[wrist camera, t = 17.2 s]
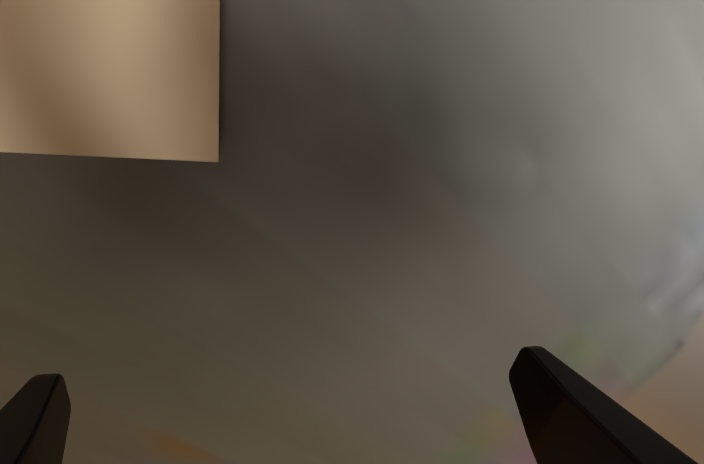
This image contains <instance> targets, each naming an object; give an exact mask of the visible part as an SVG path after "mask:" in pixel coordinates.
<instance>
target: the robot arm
mask: <svg viewBox="0 0 704 464" xmlns="http://www.w3.org/2000/svg"><path fill="white" fill-rule="evenodd" d="M509 380H510V384H511V387H512V391H513V394H514V397H515V400H516V403H517V406H518V410H519V413H520V416H521V419H522V422H523V425H524V428H525V432H526V435H527V438H528V441H529V444H530V446H531V449H532V452H533V454H534V457H535V459H536V461H537V464H698V463H697V462H695V461H694V460H693V459H691V458H690V457H689V456H687V455H686V454H685V453H683V452H682V451H681V450H679V449H678V448H677V447H675V446H674V445H673V444H671V443H670V442H669V441H667V440H666V439H665V438H663V437H662V436H661V435H659V434H658V433H657V432H655V431H654V430H653V429H651V428H650V427H649V426H647V425H646V424H645V423H643V422H642V421H641V420H639V419H638V418H636V417H635V416H634V415H633V414H631V413H630V412H628V411H627V410H626V409H625V408H623V407H622V406H621V405H619V404H618V403H617V402H615V401H614V400H613V399H611V398H610V397H609V396H607V395H606V394H605V393H603V392H602V391H601V390H599V389H598V388H597V387H595V386H594V385H593V384H591V383H590V382H589V381H587V380H586V379H585V378H583V377H582V376H581V375H579V374H578V373H577V372H575V371H574V370H573V369H571V368H570V367H569V366H567V365H566V364H565V363H563V362H562V361H561V360H559V359H558V358H557V357H555V356H554V355H553V354H551V353H550V352H548V351H547V350H546V349H544V348H543V347H540V346H529V347H523V348H522V349H521V350H520V352H519V353H518V355H517V357H516V359H515V361H514V363H513V365H512V367H511V369H510V372H509ZM70 412H71V405H70V399H69V396H68V392H67V388H66V385H65V381H64V378H63V376H62V375H61V374H42V375H36V376H34V377H32V378H31V379H30V380H29V381H28V382H27V383H26V384H25V385H24V386H23V387H22V388H21V389H20V390H19V391H18V392H17V393H16V394H15V396H14V397H13V398H12V399H11V400H10V401H9V402H8V403H7V404H6V405H5V406H4V407H3V408H2V409H1V410H0V464H62V459H63V453H64V448H65V442H66V436H67V431H68V425H69V419H70Z"/></svg>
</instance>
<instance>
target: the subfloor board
mask: <svg viewBox="0 0 704 464" xmlns="http://www.w3.org/2000/svg"><path fill="white" fill-rule="evenodd" d="M219 51H220V0H0V152H11V153H32V154H54V155H75V156H96V157H118V158H139V159H161V160H182V161H204V162H218V158H219Z"/></svg>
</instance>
